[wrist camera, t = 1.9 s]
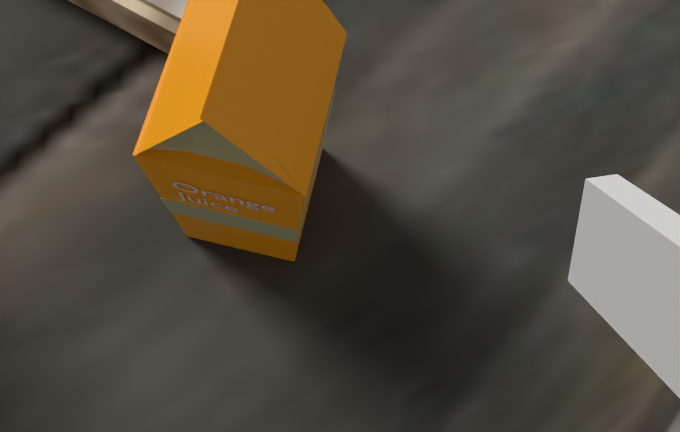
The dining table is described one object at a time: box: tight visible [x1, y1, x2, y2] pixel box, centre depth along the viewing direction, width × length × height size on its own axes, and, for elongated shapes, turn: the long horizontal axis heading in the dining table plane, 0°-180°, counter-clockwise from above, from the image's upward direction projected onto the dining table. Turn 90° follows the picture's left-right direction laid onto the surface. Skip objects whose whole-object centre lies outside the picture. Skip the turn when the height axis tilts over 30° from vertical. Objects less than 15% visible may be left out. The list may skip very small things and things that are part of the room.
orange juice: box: [133, 0, 347, 262], centre depth 30 cm, size 8×9×20 cm
